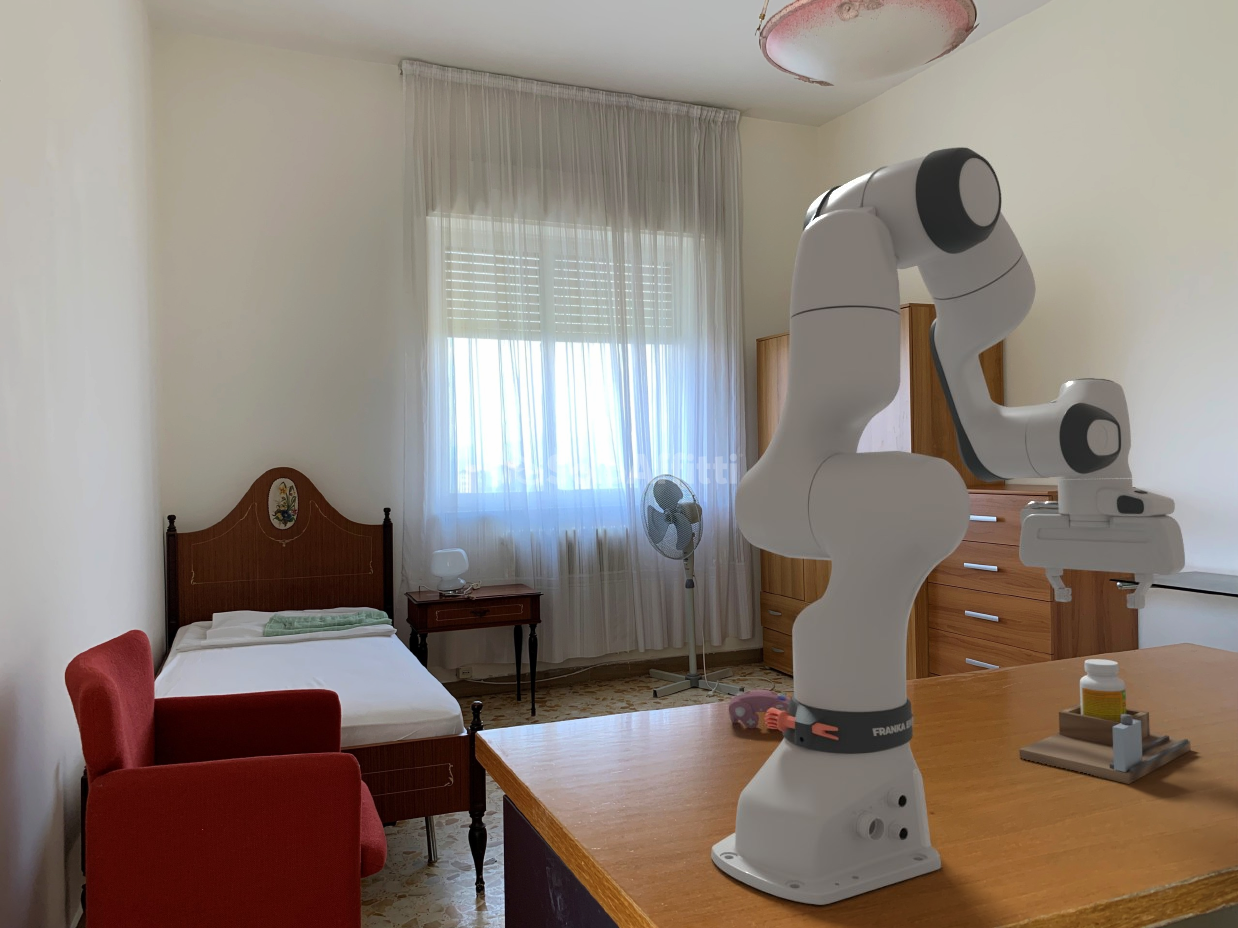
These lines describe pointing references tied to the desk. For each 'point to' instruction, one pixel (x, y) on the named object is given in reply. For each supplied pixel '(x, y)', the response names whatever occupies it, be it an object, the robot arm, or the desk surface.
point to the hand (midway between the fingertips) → (1098, 604)
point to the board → (1101, 746)
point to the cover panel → (1127, 743)
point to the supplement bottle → (1102, 690)
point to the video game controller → (755, 705)
